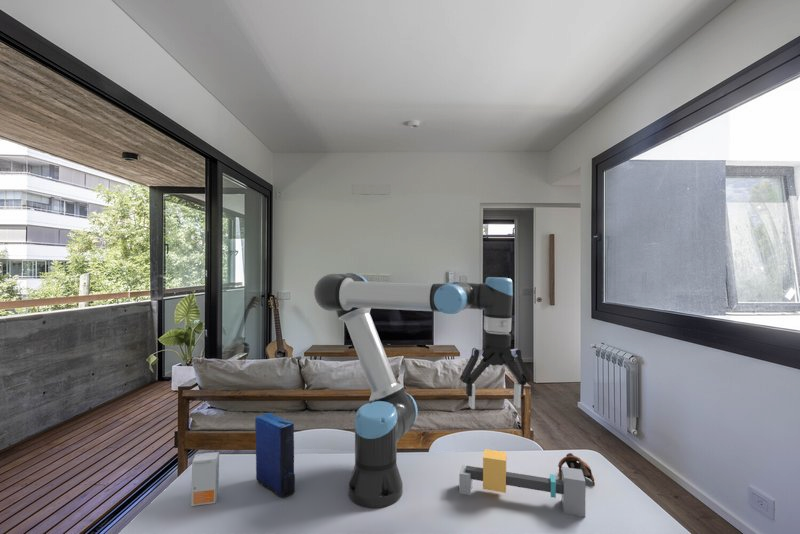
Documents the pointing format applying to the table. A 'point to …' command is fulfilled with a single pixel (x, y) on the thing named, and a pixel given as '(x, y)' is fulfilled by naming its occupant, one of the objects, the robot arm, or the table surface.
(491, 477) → the sleeve
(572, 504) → the slider rail
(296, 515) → the table surface
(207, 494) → the skincare box
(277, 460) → the book
